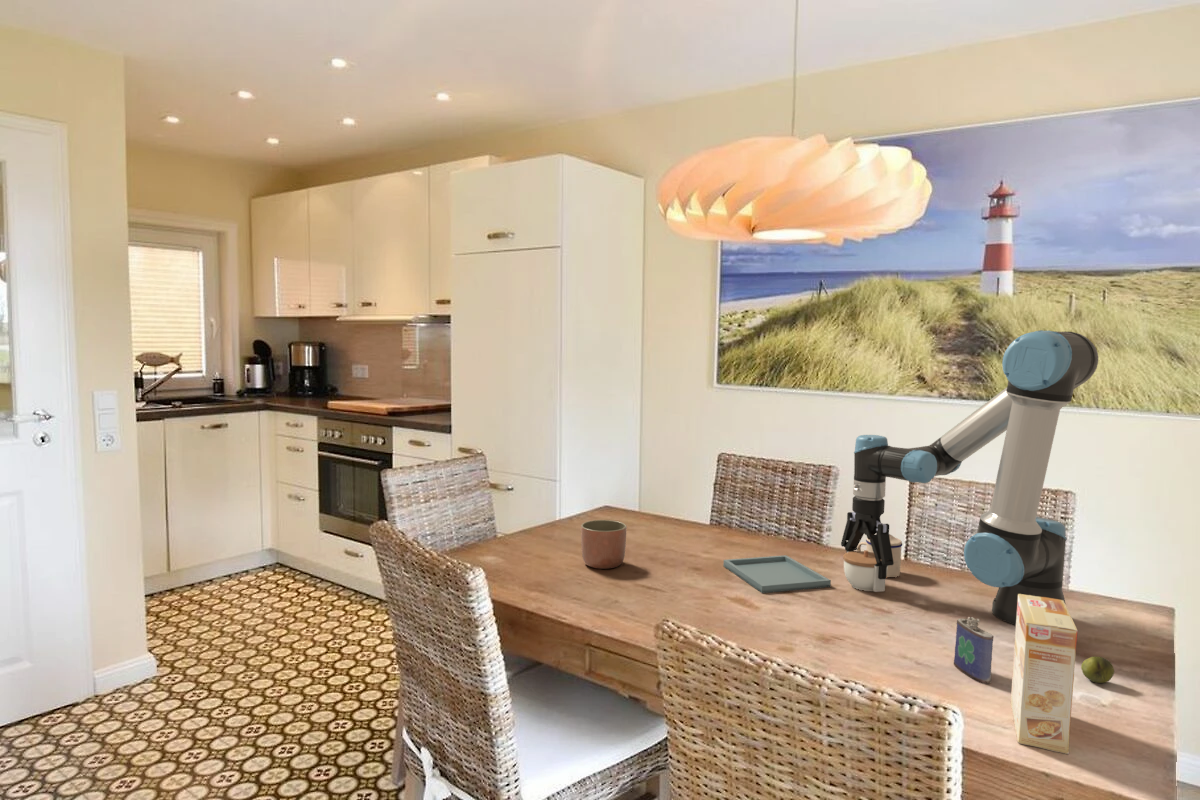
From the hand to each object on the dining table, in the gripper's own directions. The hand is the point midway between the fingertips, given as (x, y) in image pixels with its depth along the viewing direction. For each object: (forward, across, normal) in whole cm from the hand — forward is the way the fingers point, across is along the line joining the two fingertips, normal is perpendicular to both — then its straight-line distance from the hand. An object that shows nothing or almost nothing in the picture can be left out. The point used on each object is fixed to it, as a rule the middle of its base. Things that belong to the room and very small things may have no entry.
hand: (864, 583), depth 188 cm
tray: (+1, -13, -18) cm, 22 cm away
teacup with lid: (+1, -10, +11) cm, 15 cm away
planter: (+1, -33, -59) cm, 68 cm away
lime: (+1, +56, +10) cm, 57 cm away
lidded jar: (+1, 0, 0) cm, 1 cm away
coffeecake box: (+1, +66, -14) cm, 67 cm away
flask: (+1, +47, -10) cm, 48 cm away
